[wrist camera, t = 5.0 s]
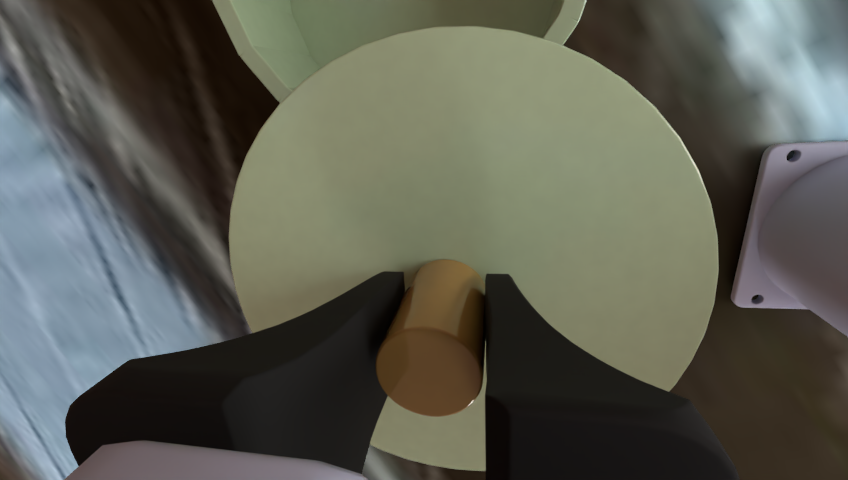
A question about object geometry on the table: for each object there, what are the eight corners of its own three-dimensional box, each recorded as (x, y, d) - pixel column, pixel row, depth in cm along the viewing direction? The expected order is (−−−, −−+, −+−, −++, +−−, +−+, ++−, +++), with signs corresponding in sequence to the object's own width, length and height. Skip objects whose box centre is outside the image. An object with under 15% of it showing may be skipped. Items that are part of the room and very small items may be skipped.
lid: (750, 3, 9) (983, -74, 5) (659, 463, 14) (731, 632, 10) (203, 54, 12) (28, 35, 7) (290, 425, 17) (215, 545, 12)
